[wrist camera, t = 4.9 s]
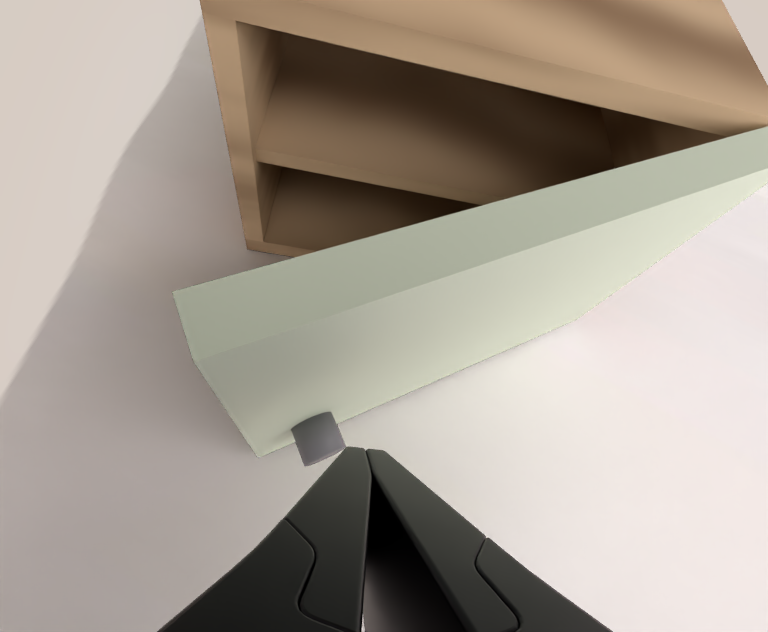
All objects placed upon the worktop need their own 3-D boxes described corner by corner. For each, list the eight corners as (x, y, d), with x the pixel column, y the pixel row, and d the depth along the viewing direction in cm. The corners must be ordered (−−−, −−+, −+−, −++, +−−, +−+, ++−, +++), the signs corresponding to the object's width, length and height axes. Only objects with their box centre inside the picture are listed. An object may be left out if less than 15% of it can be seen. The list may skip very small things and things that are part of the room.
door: (596, 337, 20) (850, 184, 11) (269, 490, 15) (217, 442, 5) (568, 297, 21) (784, 121, 12) (247, 427, 16) (171, 291, 6)
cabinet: (564, 302, 21) (787, 121, 12) (247, 249, 19) (194, -25, 10) (548, 186, 25) (708, -26, 15) (279, 131, 23) (266, -155, 13)
